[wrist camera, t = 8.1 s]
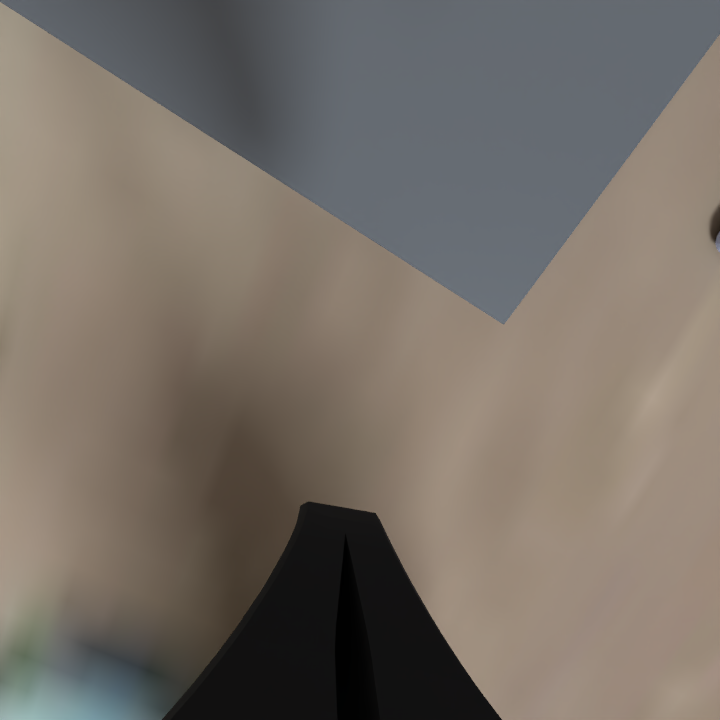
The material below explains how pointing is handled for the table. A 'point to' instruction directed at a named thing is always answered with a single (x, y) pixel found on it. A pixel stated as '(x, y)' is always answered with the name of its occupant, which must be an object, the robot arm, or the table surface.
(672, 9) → the grey slotted board
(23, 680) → the table surface
